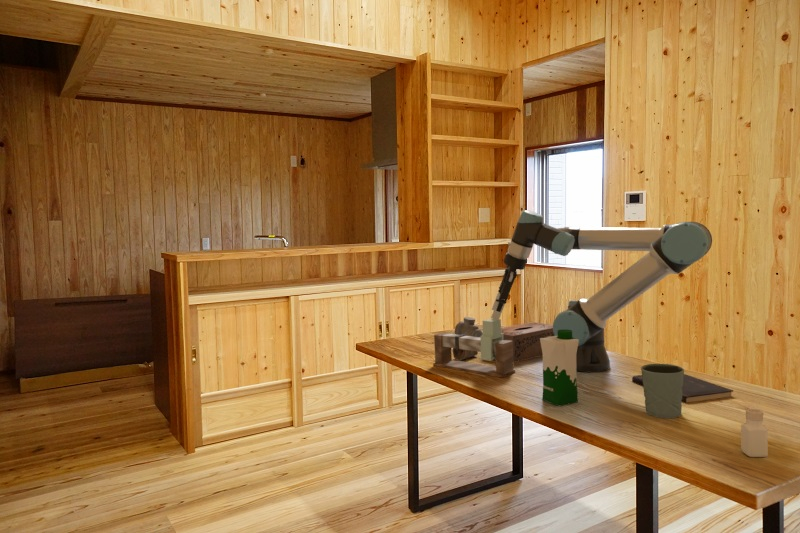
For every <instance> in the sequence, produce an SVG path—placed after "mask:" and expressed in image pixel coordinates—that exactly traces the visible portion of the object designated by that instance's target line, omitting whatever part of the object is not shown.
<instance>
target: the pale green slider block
mask: <svg viewBox="0 0 800 533" xmlns="http://www.w3.org/2000/svg"><path fill="white" fill-rule="evenodd" d="M501 328H502V320H501V319H500V318H499V319H493V318H487V319H484V320H482V333H483V335H482V336H480V338H481V352H480V360H482V361H489V362H492V361H494V360H495V361H496V354H493V350H492V340H493V339H496V340H504V338H503V333H501Z"/></svg>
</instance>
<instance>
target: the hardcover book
mask: <svg viewBox="0 0 800 533" xmlns="http://www.w3.org/2000/svg"><path fill="white" fill-rule="evenodd" d="M631 382H633V383H635V384H637V385H640V386H642V387H644V385H643V380H642V374H638V375H633V376H632V379H631ZM682 390H683V392H682V400H681V402H683V403H685V404H686V403H692V402H700V401H705V400H706V401H707V400H713V399H714V400H715V399H720V398H727V397H732V392H733V393H734V390H733V389H730V388H727V387H724V386H721V385H718V384H715V383H712V382H709V381H707V380H704V379H701V378H698V377H695V376H692V375H688V374H686V373H684V377H683V386H682Z"/></svg>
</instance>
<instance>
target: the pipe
mask: <svg viewBox="0 0 800 533" xmlns="http://www.w3.org/2000/svg"><path fill="white" fill-rule="evenodd" d="M478 354H479V353H478V351H471V350H464V349H459V350H457V349H455V348H452V355H453V358H454V360H457V361H463V360H466V359H467V360H468V359H470V358H472V357H475V356H477V355H478Z"/></svg>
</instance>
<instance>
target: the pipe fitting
mask: <svg viewBox="0 0 800 533" xmlns="http://www.w3.org/2000/svg"><path fill="white" fill-rule="evenodd" d="M475 323H476V319H475V318H473V317H470V316H469V317H467V316H465V317H463V320H462V321H459V322H457V324H456V325H455V327H454V334H456V335H462V334H465V335H466V336H472V337H480V336H482V335H483V330H481V329H479V326H478V325H476V324H475Z"/></svg>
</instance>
